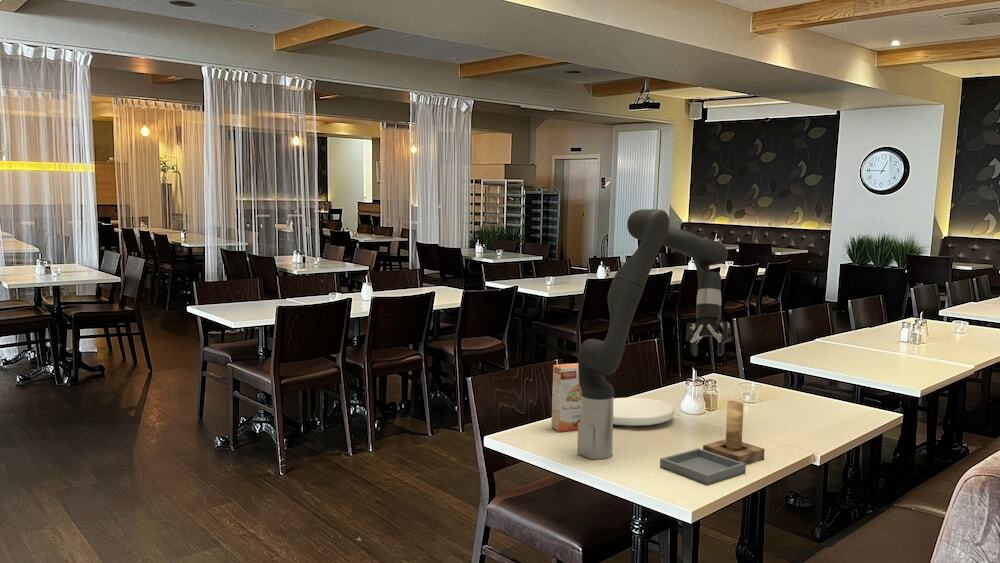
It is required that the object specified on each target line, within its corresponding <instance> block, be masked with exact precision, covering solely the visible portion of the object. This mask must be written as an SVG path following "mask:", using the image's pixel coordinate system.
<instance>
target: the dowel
mask: <svg viewBox="0 0 1000 563" xmlns="http://www.w3.org/2000/svg"><path fill="white" fill-rule="evenodd" d="M726 405H727V406H726V407H727V408H726V427H725V430H726V431H725V439H726V449H729V450H732V451H735V452H737V451H740V450H742V442H743V427H744V405H745V404H744V402H743V401H739V400H727V404H726Z"/></svg>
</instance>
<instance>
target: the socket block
mask: <svg viewBox="0 0 1000 563" xmlns="http://www.w3.org/2000/svg"><path fill="white" fill-rule="evenodd" d="M702 449H703V450H706V451H709V452H712V453H715V454H718V455H721V456H724V457H727V458H730V459H733V460H736V461H739V462H742V463H745V464H746V466H747V465H749V464H752V463H755V462H760V461H763V460H765V448H763V447H760V446H757V445H754V444H750V443H747V442H743V441H742V450H740V451H737V452H735V451H732V450H729V449H726V438H725V439H720V440H718V441H714V442H710V443H707V444H703V445H702ZM762 459H763V460H762Z"/></svg>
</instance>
